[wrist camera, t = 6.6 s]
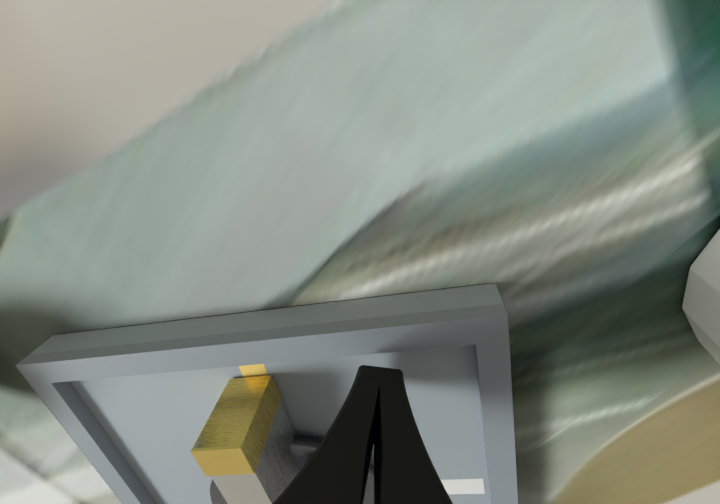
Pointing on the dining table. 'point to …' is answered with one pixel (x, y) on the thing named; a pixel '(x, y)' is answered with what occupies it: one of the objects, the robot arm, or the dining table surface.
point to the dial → (254, 445)
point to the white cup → (705, 297)
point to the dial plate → (287, 385)
